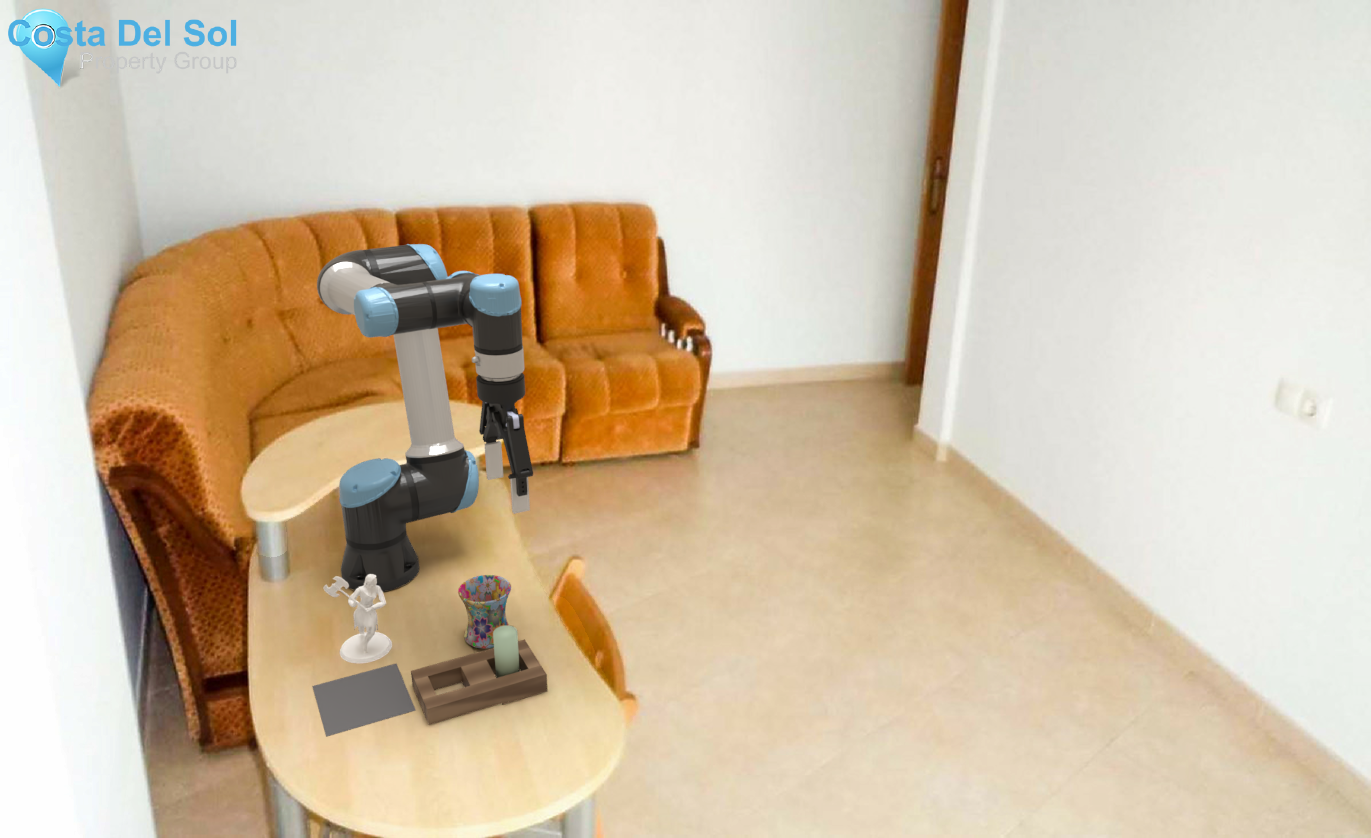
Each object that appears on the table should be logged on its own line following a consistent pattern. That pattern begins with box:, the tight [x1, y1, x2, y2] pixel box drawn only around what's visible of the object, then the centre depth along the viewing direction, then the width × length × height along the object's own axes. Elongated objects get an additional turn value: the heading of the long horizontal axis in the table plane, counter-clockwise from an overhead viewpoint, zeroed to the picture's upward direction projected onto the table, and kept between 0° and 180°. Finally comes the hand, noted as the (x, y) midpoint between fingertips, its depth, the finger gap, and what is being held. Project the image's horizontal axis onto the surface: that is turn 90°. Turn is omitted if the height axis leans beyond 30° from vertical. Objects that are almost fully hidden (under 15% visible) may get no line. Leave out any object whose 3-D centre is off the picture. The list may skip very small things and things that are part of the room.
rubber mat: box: [312, 662, 417, 737], centre depth 164 cm, size 14×14×1 cm
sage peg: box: [493, 625, 521, 678], centre depth 167 cm, size 4×4×10 cm
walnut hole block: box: [410, 639, 548, 726], centre depth 166 cm, size 11×20×4 cm, turn 118°
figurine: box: [323, 574, 393, 664], centre depth 174 cm, size 10×10×18 cm
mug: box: [457, 574, 512, 650], centre depth 180 cm, size 12×9×11 cm
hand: (507, 494), depth 165 cm, fingers open, 13 cm apart
